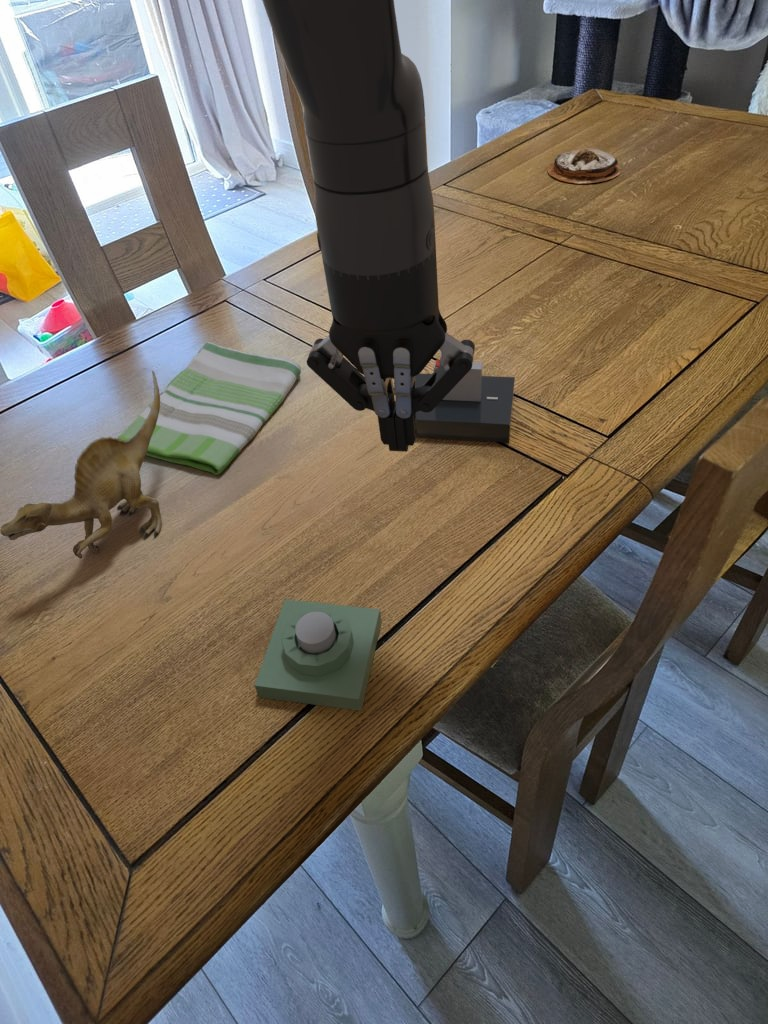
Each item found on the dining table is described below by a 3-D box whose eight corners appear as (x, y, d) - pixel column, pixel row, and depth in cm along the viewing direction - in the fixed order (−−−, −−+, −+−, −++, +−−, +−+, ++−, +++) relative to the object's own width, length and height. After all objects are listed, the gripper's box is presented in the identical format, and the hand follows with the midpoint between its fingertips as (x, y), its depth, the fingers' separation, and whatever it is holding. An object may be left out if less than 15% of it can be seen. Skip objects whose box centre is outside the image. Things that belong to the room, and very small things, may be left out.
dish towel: (306, 375, 102) (302, 355, 100) (225, 478, 88) (218, 457, 85) (208, 358, 108) (201, 338, 105) (116, 452, 93) (107, 431, 91)
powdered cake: (605, 153, 152) (607, 132, 149) (632, 178, 141) (636, 156, 138) (539, 162, 151) (540, 142, 148) (561, 188, 140) (564, 167, 137)
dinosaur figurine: (38, 591, 77) (-22, 508, 68) (179, 444, 93) (147, 360, 84) (91, 611, 75) (36, 528, 65) (226, 457, 91) (199, 372, 81)
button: (339, 624, 67) (337, 613, 65) (331, 656, 64) (328, 645, 63) (303, 620, 67) (300, 609, 66) (293, 651, 65) (290, 641, 64)
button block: (381, 621, 71) (378, 598, 68) (361, 711, 64) (356, 689, 61) (288, 611, 73) (281, 588, 70) (259, 697, 66) (249, 675, 63)
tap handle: (481, 394, 91) (482, 360, 87) (480, 401, 90) (481, 367, 86) (436, 392, 92) (435, 358, 88) (434, 399, 91) (433, 366, 87)
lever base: (513, 395, 95) (514, 376, 93) (509, 442, 88) (510, 423, 86) (412, 390, 97) (411, 372, 95) (400, 436, 91) (399, 417, 88)
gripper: (484, 215, 47) (483, 419, 59) (296, 220, 49) (333, 414, 62) (475, 270, 42) (476, 479, 54) (265, 272, 44) (312, 472, 56)
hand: (399, 444), depth 58 cm, fingers closed
